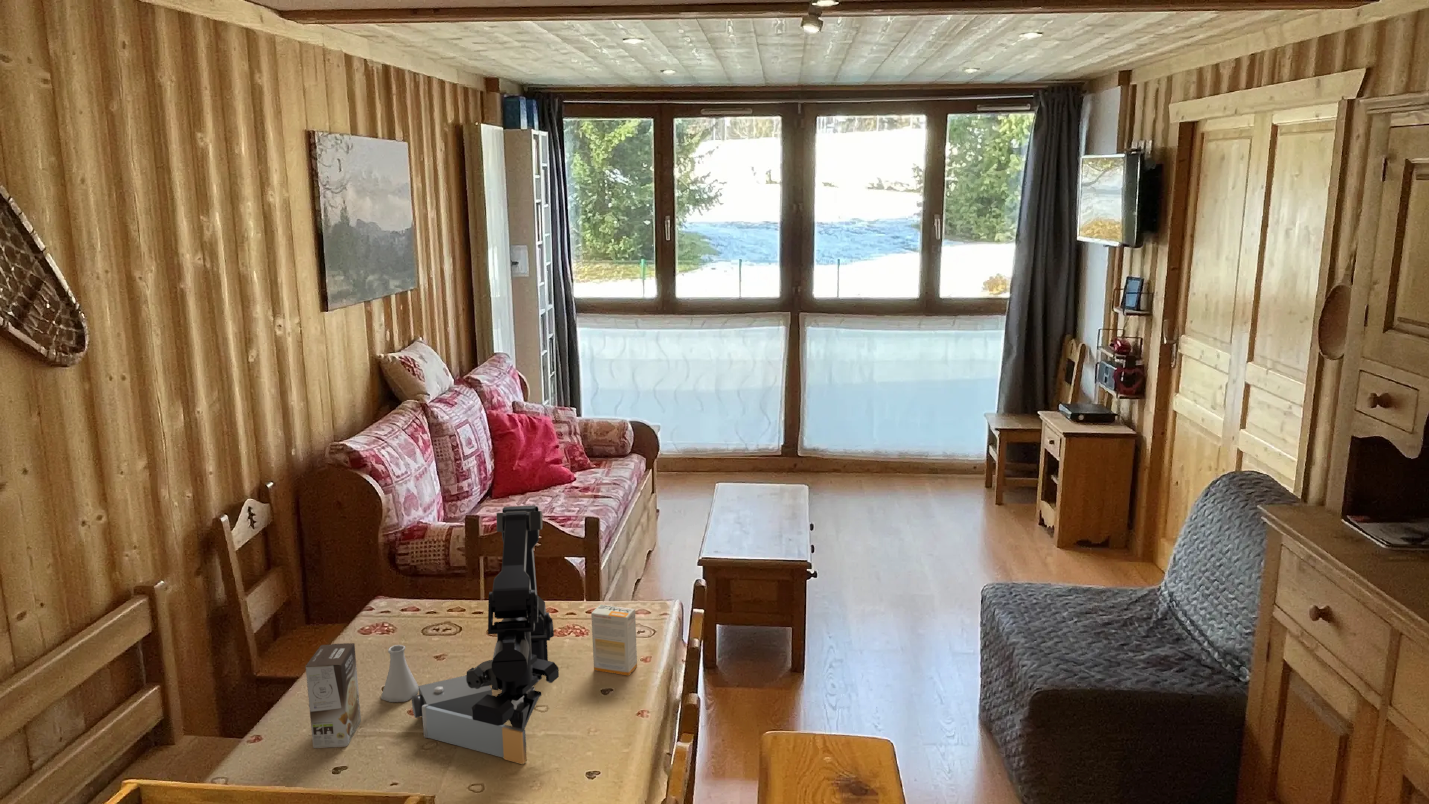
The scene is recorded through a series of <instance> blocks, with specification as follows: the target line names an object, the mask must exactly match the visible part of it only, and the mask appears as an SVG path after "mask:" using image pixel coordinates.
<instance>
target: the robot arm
mask: <svg viewBox="0 0 1429 804" xmlns="http://www.w3.org/2000/svg"><path fill="white" fill-rule="evenodd" d="M501 510H502V512H496V533H497V532H498V533H499V532H500V533H501V539H502V543H503V544H502V545H503V547H502V557H501V559H502V561H501V570H500V572H499V573H498V574H497V575H496V576H495V577H494V579H493V581H492V583H493V584H492V591H489V592H488V599H487V600H488V603H487V604H488V609H487V612H488V613H487V615H488V616H487V617H488V618H487V635H495V634H496V643H495V646H494V651H493V656H492V659H490V660H484V661H482V662H480V664H478V665H477V666H475V667H471V668H470V669H469V670H468V669H467V671H466V681H467V683H468V686H469V687H470V688H475V689H479V688H480V687H484V686H490V687H491V689H492V691H499V690H500V691H501V692H500V693H499V694H498V695H493V694H492V695H488V694H487V695H486V696H485V697H483V698H482V699H481V700H480V701H478V702H477V703H476V704H475V705H474V706H473V707H472V718H473V720H476V721H481V722H485V723H489V724H493V725H497V726H500V725H503V724H504V725H505V724H506V723H507V722H508V721H509V723H510V726H512V727H516V728H520V729H524V730H526V727H527V724H528V722H529V719H530V717H531V715H532V713H533V711H534V709H535V707H536V705H537V703H538V702H539V701H538V700H539V699H540V697H541V696H542V691H539V690H536V688H535V685H536V684H537V683H538V682H539V681H540V680H542V679H543V676H544V677H545V681H546V682H547V684H548V683H549V684H553V682H555V680H557V679H558V678H559V675H560V674H559V670H560V669H559V666H558V665H557V664H556V663H555V661H550V660H549V656H548V641H551V638H553V637H554V634H555V632H554V620H553V618H552V617H551V614H550V612H547V609H546V608H547V607H546V602H545V600H544V599H542V598H541V597H540V596H539V595H538V590H537V579H536V567H535V565H536V564H535V553H534V548H535V546H536V545H537V543H538V542H539V541H540V530H543V511H542V510H539V507H538V506H536V504H535V505H515V506H509V505H508V506H504V507H503V508H502V509H501ZM494 618H495V619H497V620H501V621H494Z"/></svg>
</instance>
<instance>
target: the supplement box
mask: <svg viewBox="0 0 1429 804" xmlns="http://www.w3.org/2000/svg"><path fill="white" fill-rule="evenodd" d="M590 614H591V615H590V616H591V633H592V634H591V636H592V655H593V656H592V657H593V671H595V670H597V671H596V672H603V673H608V674H609V673H610V674H615V673H616V674H617V675H622V676H627V677H628V676H630V675H631V674H632V673H633V672H634V670H635V669H636V668H637V667H638V652H637V650H638V649H637V648H638V647H637V628H636V627H637V624H636V619H637V618H636V608H630V607H629V608H628V607H621V606H616V605H615V606H614V605H607V604H600V605H598V606H597V607H596V608H595V609H594V610H593V611H592V612H591V613H590ZM631 672H632V673H631ZM630 673H631V674H630Z"/></svg>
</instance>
